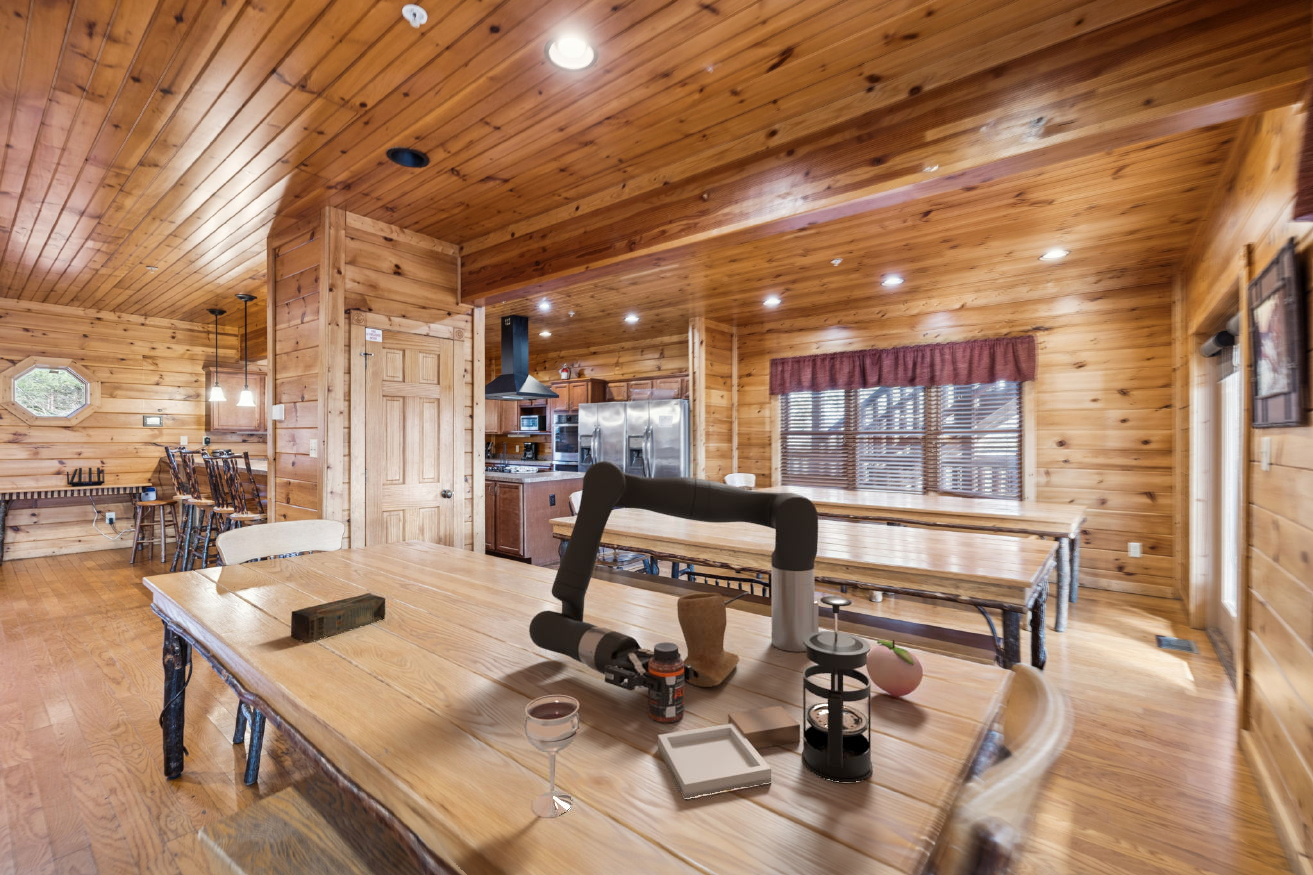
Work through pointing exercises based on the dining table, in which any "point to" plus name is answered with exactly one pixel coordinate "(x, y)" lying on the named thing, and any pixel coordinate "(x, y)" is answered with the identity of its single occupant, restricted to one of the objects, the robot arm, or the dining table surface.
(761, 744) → the brown block
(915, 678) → the decorative fruit
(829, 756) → the french press
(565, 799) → the wineglass
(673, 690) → the supplement bottle
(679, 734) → the tray
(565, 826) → the dining table surface
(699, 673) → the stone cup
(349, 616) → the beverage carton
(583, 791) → the dining table surface
